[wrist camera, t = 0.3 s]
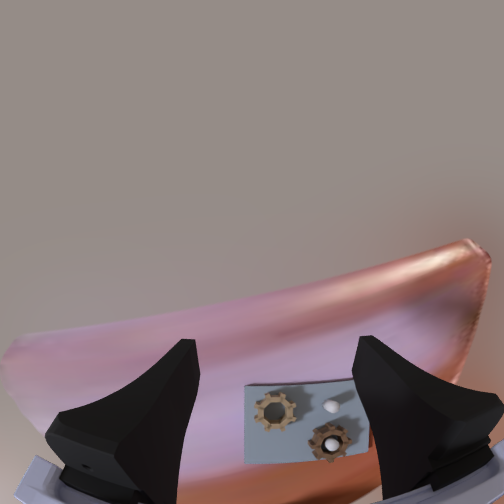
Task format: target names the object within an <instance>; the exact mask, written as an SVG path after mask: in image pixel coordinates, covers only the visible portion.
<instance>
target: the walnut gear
mask: <svg viewBox="0 0 504 504" xmlns="http://www.w3.org/2000/svg"><path fill="white" fill-rule="evenodd" d="M312 431H313V432H314V435H313V437H312V439H311V440H308V445H309V446H310V448H311V449H314V450H313V451H312V454H313V455H314V456H315V458H316V459H318V460H320V459H321V458H325V459H327V461H328V462H329V463H331V462H334V459H335V458H337V457H339V456H341V455H343V456H344V457H345V456H346V454H347V453H346V452H345V451H346V449H347V446H348V444H352V439H350V438H348V437H347V436H346V433H347V432H348V431H347V430H346V429H345V428H343V427H341V426H340V425H339V426H338V427H337V428H336V427H335V426H334V425H332V424H331V423H325V427H323V428H320V429H318V430H317V429H316V428H314V429H313V430H312ZM332 434H334V435H336V436H337V438H338V439H337V441H338V442H339V447H338V449H337V450H335V451H330V450H328V449H327V450H325V449H321V447H320V446H321V444H322V442H323V440H324V438H326V437H328V436H330V435H332Z"/></svg>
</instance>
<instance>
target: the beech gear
mask: <svg viewBox="0 0 504 504" xmlns="http://www.w3.org/2000/svg"><path fill="white" fill-rule="evenodd" d="M264 395H265V398H264V399H263V400H262V401H261V402H257V401H256V402H255V404H254V408H256V409H258V414H257V415H254V420H255V422H256V423H258V422H261V423H262V424H263V425H264V429H265V431H267V432H270V430H271V429H280V430H281V432H283V431H285V430H286V429H285V426H286V425H287V424H288V423H289V422H290V421H293V422H295V420H296V417H295V416H294V414H293V408H295V407H297V406H296V404H295V402H293V401H292V400H291V401H289V402H288V401H287V400H286V399H285V396H286V395H285V394H284V393H282V392H279V394H278V395H270V394H269V392H267V393H264ZM271 402H281V403H282V404H283V405H284V406H285V414H284V415H283V416H282V417H281V418H280V419H279V420H269V419H268V418H266V417H265V416H264V408H265V407H266V406H267V405H268V404H270V403H271Z"/></svg>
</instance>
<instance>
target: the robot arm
mask: <svg viewBox="0 0 504 504" xmlns="http://www.w3.org/2000/svg"><path fill="white" fill-rule="evenodd" d="M352 375H353V379H354V383H355V387H356V390H357V393H358V395H359V398H360V400H361V403H362V405H363V408H364V410H365V413H366V415H367V418H368V420H369V423H370V426H371V429H372V432H373V436H374V440H375V444H376V449H377V454H378V459H379V465H380V473H381V481H382V495H383V501H379V502H375V503H372V504H492V503H493V502H495V501H496V500H498V499H499V498H500V497H501V496H503V495H504V439H503V440H501V441H500V442H498V443H497V444H496V445H494V446H493V447H492V448H491V449H490V448H489V446H488V444H489V443H490V441H491V440H490V438H489V436H488V435H489V434H490V432H491V431H492V430H493V428H494V427H495V426H496V424H497V423H498V422H499V420H500V419H501V417H502V415H503V413H504V404H503V403H502V401H501V400H500V399H499V397H498V396H497V395H496V394H494V393H487V392H480V391H475V390H471V389H467V388H463V387H460V386H457V385H454V384H452V383H449V382H446V381H444V380H442V379H439V378H437V377H435V376H433V375H431V374H429V373H427V372H425V371H424V370H422V369H420V368H418V367H417V366H415V365H414V364H412V363H410V362H409V361H407V360H406V359H405V358H403V357H402V356H400V355H399V354H397V353H396V352H395V351H393V350H392V349H391V348H389V347H388V346H387V345H385V344H384V343H383V342H381V341H380V340H378V339H377V338H375V337H374V336H372V335H370V336H360V338H359V342H358V347H357V351H356V355H355V359H354V363H353V367H352ZM199 380H200V369H199V363H198V356H197V349H196V342H195V340H194V339H181V340H180V341H179V342H178V343H177V344H176V345H175V346H174V347H173V348H171V349H170V350H169V351H168V352H167V353H166V354H165V355H164V356H163V357H162V358H161V359H160V360H159V361H158V362H157V363H156V364H155V365H153V366H152V367H151V368H150V369H149V370H147V371H146V372H145V373H144V374H142V375H141V376H140V377H139V378H137V379H136V380H134V381H133V382H131V383H130V384H128V385H127V386H125V387H123V388H122V389H120V390H118V391H116V392H114V393H112V394H110V395H108V396H107V397H105V398H102V399H100V400H98V401H95V402H93V403H90V404H87V405H84V406H81V407H78V408H74V409H70V410H67V411H62V412H59V414H58V415H57V416H56V418H55V419H54V421H53V423H52V424H51V426H50V427H49V429H48V430H47V432H46V434H45V439H46V441H47V443H48V445H49V446H50V447H51V449H52V450H53V451H54V452H55V453H56V455H57V456H58V457H59V458H60V459H61V460H62V461H63V462H64V464H65V467H64V469H63V470H62V469H61V468H59V467H58V466H56V465H55V464H53V463H51V462H49V461H47V460H45V459H43V458H41V457H39V456H37V455H36V456H35V457H34V459H33V460H32V462H31V464H30V466H29V467H28V469H27V471H26V473H25V474H24V476H23V478H22V480H21V482H20V483H19V485H18V487H17V489H16V491H15V493H14V497H15V498H17V499H18V500H19V501H20V502H22V503H23V504H176V500H177V487H178V477H179V469H180V461H181V454H182V448H183V442H184V437H185V433H186V429H187V426H188V423H189V419H190V416H191V413H192V410H193V406H194V403H195V400H196V396H197V392H198V386H199Z"/></svg>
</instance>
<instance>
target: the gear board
mask: <svg viewBox="0 0 504 504" xmlns="http://www.w3.org/2000/svg"><path fill="white" fill-rule="evenodd" d="M267 392H269V394H270V395H278V394H279V392H282V393H284V394H285V395H286V396H285V399H286V400H287V401H288V402H289V401H291V400H292V401H293V402H295V404H296V406H297V407H295V408H293V414H294V416H295V417H296V420H295V422H293V421H290V422H289V423H288V424H287V425H286V426H285V429H286V430H285V431H283V432H281V430H280V429H271V430H270V432H267V431H265V429H264V425H263V424H262V423H261V422H258V423H256V422H255V420H254V415H257V414H258V409H256V408H254V404H255V402H256V401H257V402H261V401H262V400H263V399H264V398H265V395H264V393H267ZM284 414H285V406H284V405H283V404H282V403H281V402H271V403H270V404H268V405H267V406H266V407H265V408H264V416H265V417H266V418H268V419H269V420H279V419H280V418H281V417H282V416H283V415H284ZM325 423H331V424H332V425H334V426H335V427H336V428H337V427H338V426H339V425H340V426H341V427H343V428H345V429H346V430H347V431H348V432H347V433H346V436H347V437H348V438H350V439H352V444H348V446H347V449H346V451H345V452H346V453H347V454H346V456H348V455H354V454H359V453H364V452H368V443H369V420H368V418H367V415H366V413H365V410H364V408H363V405H362V403H361V400H360V398H359V395H358V393H357V390H356V387H355V383H354V380H347V381H338V382H328V383H316V384H301V385H278V386H245V403H244V464H270V463H291V462H304V461H314V460H318V459H316V458H315V456H314V455H313V454H312V451H313V450H314V449H311V448H310V446H309V445H308V440H311V439H312V437H313V435H314V432H313V431H312V430H313V429H314V428H316V429H317V430H318V429H320V428H323V427H325ZM337 439H338V438H337V436H336V435H334V434H332V435H330V436H328V437H326V438H324V440H323V442H322V444H321V446H320V447H321V449H325V450H327V449H328V450H330V451H335V450H337V449H338V447H339V442H338V441H337ZM339 457H343V455H341V456H339ZM322 459H325V458H321V459H320V460H322Z"/></svg>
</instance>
